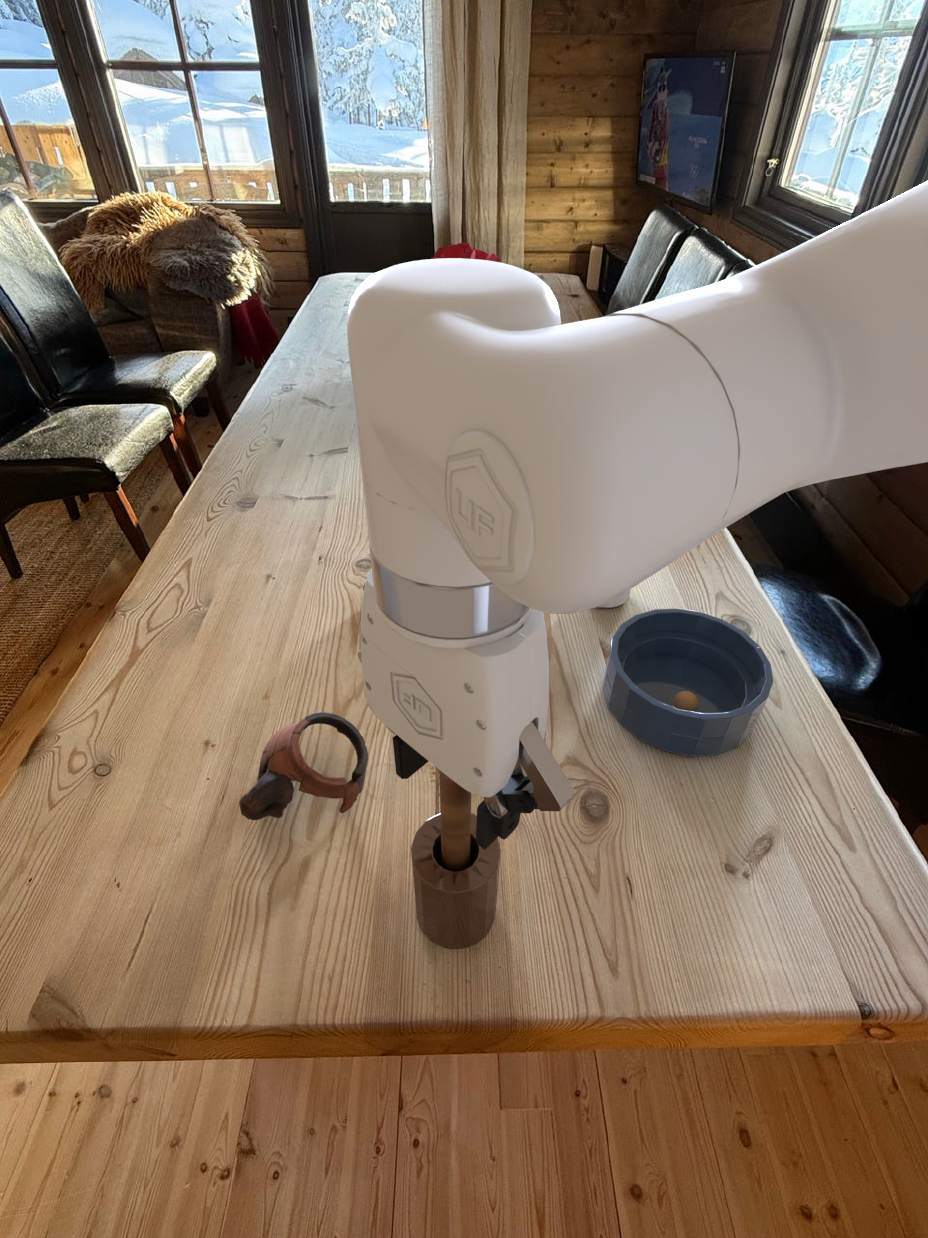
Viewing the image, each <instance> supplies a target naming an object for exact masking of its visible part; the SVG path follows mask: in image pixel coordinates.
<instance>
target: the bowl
mask: <svg viewBox="0 0 928 1238" xmlns="http://www.w3.org/2000/svg"><path fill="white" fill-rule="evenodd" d="M773 684H774V675H773V669H772V664H771V661H770V660H769V659H768V656H767V655H766V653H765V652H764V650H763V649H762V647H761V646H760V645H759V643H757V642H756V641H755V640H754V639H753V638H752V637H750V636H749V635H748V634H747V633H746V631H744V630H743V629H741V628H739V627H737V626H735V625H733V624H731V623H730V622H728V621H726V620H724V619H722V618H720V617H717V616H714V615H711V614H708V613H705V612H704V611H703V612H702V611H697V610H690V609H685V608H677V607H676V608H656V609H652V610H651V609H650V610H648V611H645V612H640V613H638V614H634V615H633V616H631V617H630V618H628V619H627V620H625V621H624V622H623V623H621V624H620V625H619V627H618V628H617V630H616V631H615V633H614V634H613V636H612V638H611V641H610V645H609V650H608V655H607V660H606V665H605V670H604V675H603V683H602V693H603V696H604V700H605V702H606V706H607V708H608V711H610V713H611V714H612V715H613V717H614V719H616V721H617V722H618V724H619V725H620V726H621V727H622V728H624V729H625V730H626V731H628V732H629V733H630V734H632V735H633V736H634V737H636V738H637V739H639V741H641V742H643V743H645V744H648V745H649V746H652V747H655V748H657V749H659V750H661V751H663V752H668V753H672V754H679V755H684V756H688V757H689V756H690V757H702V756H703V757H704V756H705V757H706V756H717V755H720V754H722V753H725V752H728V751H730V750H733V749H736V748H738V747H740V745H741V744H742V743H743V742H745V740H746V739H748V738H749V737H750V736H751V735H752V734H753V731H754V729H755V727H756V724H757V722H758V720H759V718H760V717H761V713H762V711H763V709H764V707H765V705H766V703H767V701H768V698H769V695H770V694H771V690H772V687H773ZM682 691H689V692H692V693H693V694H694V695H695V696H696V697H697V699H698V703H699V704H698V708H697V710H696V711H695V712H692V711H686V710H680V709H677V708H674V704H673V701H674V698H675V696H676V695H677V694H678V693H679V692H682Z"/></svg>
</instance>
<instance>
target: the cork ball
mask: <svg viewBox="0 0 928 1238" xmlns="http://www.w3.org/2000/svg"><path fill="white" fill-rule="evenodd" d="M673 704H674V708H677V709H680V710H686V711H692V712H695V711H696V710H697V708H698V704H699V703H698V699H697V697H696V696H695V695H694V694H693V693H692V692H689V691H682V692H679V693H678V694H677V695H676V696H675V698H674V701H673Z"/></svg>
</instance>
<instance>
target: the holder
mask: <svg viewBox="0 0 928 1238" xmlns="http://www.w3.org/2000/svg"><path fill="white" fill-rule="evenodd" d="M476 825H477V814H474V813H473V812H471V830H470V867H469V868H467V869H465V870H464V871H457V872H454V871H449V870H445V869H444V868H442V851H441V818H440V813H438V814H436V815H434V816H431V817H430V818H428V819H427V820H425V821H424V823H422V825H420V827H419V828H418V830H416V831H415V834H414V837H413V841H412V843H411V846H410V855H411V856H410V857H411V865H412V866H411V867H412V876H413V877H412V878H413V889H414V890H413V891H414V900H415V901H414V902H415V911H416V919H417V922H418V926H419V928H420V929H421V931H422V933H423V934H424V936H426V938H427V939H428V940H429V941H430V942H432V943H434V944H435V945H437V946H439V947H441V948H443V949H448V950H464V949H468V948H470V947H473V946H475V945H477V944H478V943H480V941H482V940H483V939H484V938H486V936H487V935H488V933H489V932H490V930H491V929H492V926H493V924H494V921H495V917H496V911H497V904H498V891H499V890H498V889H499V880H500V879H499V878H500V868H501V867H500V866H501V864H500V863H501V853H502V850H501V846H500V841H499V837H498V838H497V839H496V840H495V841H494V842H493V843H492V844H491V845H490V846H489V847H488V848H486V849H483V848H481V847H480V846H479V845H478V844H477V840H476Z"/></svg>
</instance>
